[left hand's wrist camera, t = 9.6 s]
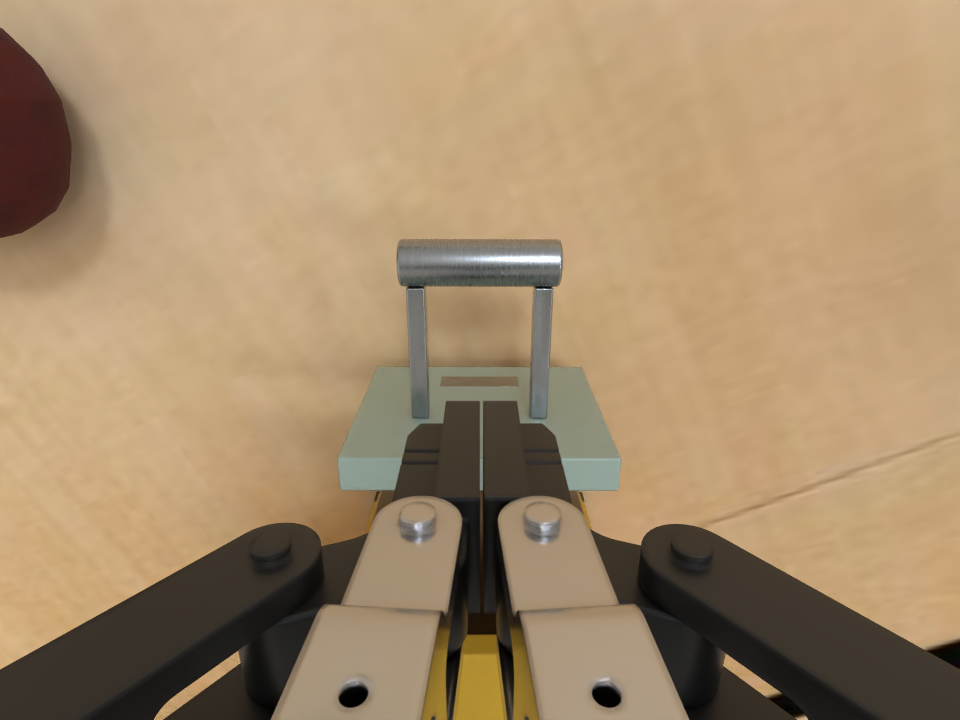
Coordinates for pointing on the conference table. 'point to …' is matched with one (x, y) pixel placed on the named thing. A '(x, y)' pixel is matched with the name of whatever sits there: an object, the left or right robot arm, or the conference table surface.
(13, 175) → the dark maroon ball
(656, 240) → the conference table surface
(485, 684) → the cabinet
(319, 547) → the left robot arm
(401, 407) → the drawer
